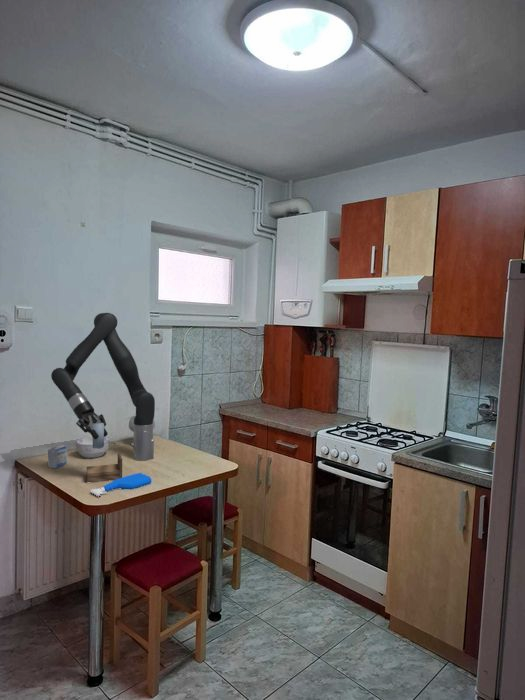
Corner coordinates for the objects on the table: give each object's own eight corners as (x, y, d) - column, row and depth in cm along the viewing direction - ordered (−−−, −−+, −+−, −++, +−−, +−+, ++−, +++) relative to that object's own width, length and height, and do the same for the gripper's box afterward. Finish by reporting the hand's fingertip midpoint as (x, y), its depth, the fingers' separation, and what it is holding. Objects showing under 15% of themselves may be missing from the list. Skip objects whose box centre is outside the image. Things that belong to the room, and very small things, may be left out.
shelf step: (119, 472, 213) (119, 452, 212) (122, 479, 203) (122, 459, 203) (86, 475, 207) (86, 455, 207) (87, 483, 198) (87, 462, 198)
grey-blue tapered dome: (98, 444, 207) (98, 422, 207) (106, 446, 205) (106, 423, 205) (90, 447, 203) (90, 424, 202) (98, 448, 201) (98, 425, 200)
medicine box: (56, 468, 216) (56, 449, 215) (47, 467, 217) (47, 449, 216) (66, 463, 224) (66, 445, 223) (58, 462, 225) (58, 444, 224)
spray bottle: (139, 471, 207) (85, 486, 188) (153, 477, 199) (100, 493, 181) (139, 478, 207) (86, 493, 189) (154, 484, 200) (100, 501, 181)
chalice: (129, 448, 251) (129, 420, 250) (127, 441, 265) (127, 415, 264) (156, 446, 256) (156, 419, 255) (153, 440, 269) (153, 414, 268)
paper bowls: (71, 454, 238) (71, 439, 238) (101, 449, 248) (101, 434, 248) (83, 461, 227) (82, 445, 226) (113, 456, 237) (113, 440, 236)
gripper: (72, 402, 200) (93, 435, 195) (97, 398, 213) (118, 428, 208) (63, 414, 202) (84, 445, 198) (88, 408, 215) (108, 438, 211)
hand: (101, 436), depth 203 cm, fingers closed on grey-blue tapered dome, 4 cm apart
